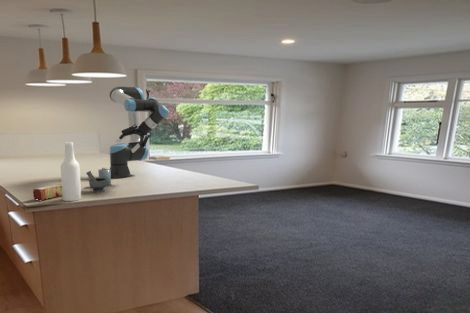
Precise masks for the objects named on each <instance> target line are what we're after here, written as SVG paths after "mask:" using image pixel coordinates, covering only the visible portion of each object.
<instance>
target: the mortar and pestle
mask: <svg viewBox="0 0 470 313" xmlns="http://www.w3.org/2000/svg"><path fill="white" fill-rule="evenodd" d="M85 175H87V177H88V179H89V180H88V183H89V186H90V189H92V192H93V193H94V192H99V193H103V191H104V192H105V188H106V185H107V179H105V178H99V177H97V178H96V177H95V176H94V175H93V173H92V171H91V170H89V171H87V172H86V174H85Z"/></svg>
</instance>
